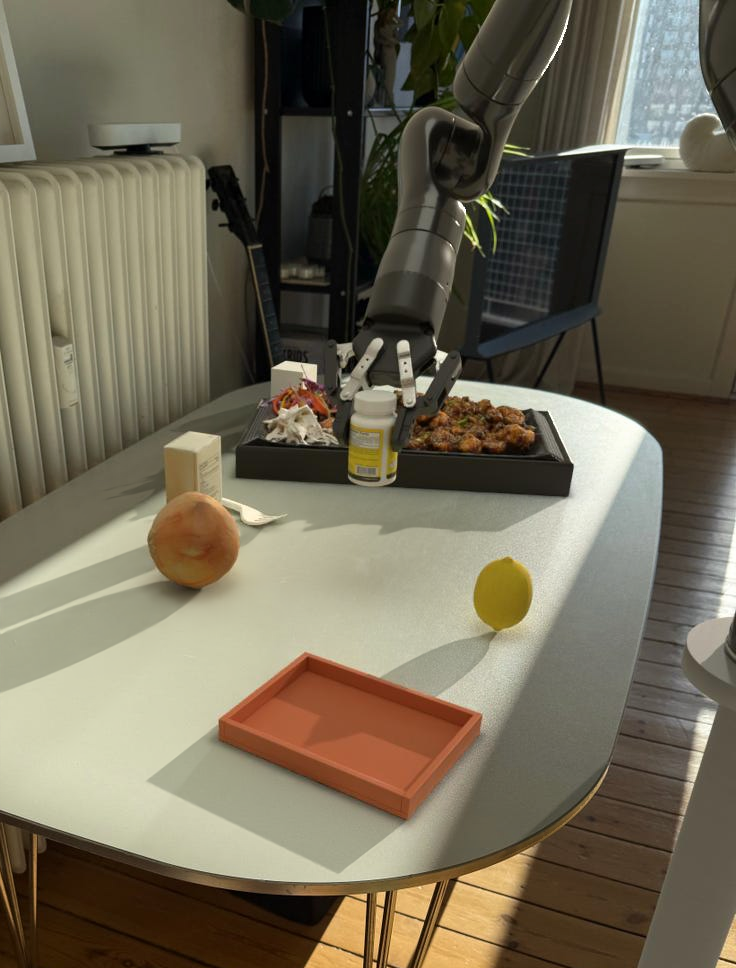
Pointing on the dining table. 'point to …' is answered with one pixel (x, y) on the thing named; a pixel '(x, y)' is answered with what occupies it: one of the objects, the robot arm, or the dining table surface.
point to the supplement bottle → (372, 438)
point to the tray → (353, 732)
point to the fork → (249, 513)
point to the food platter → (411, 446)
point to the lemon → (503, 593)
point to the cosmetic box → (193, 465)
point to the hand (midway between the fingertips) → (368, 444)
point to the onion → (194, 540)
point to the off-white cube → (291, 376)
